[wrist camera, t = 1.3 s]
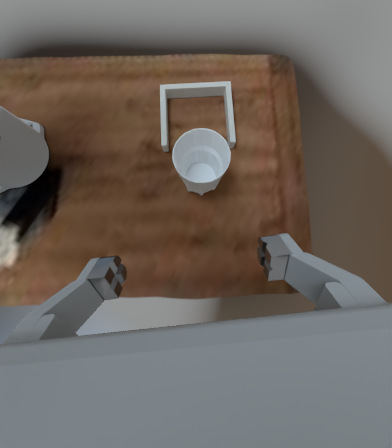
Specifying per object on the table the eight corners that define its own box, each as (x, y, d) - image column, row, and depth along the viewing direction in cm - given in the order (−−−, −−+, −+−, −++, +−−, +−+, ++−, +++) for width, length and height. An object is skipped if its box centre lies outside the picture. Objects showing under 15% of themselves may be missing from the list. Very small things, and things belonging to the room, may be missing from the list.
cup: (186, 152, 40) (183, 121, 30) (227, 165, 39) (237, 137, 30) (172, 191, 39) (164, 172, 29) (214, 205, 38) (220, 190, 28)
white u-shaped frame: (233, 148, 40) (235, 141, 38) (163, 151, 40) (161, 145, 37) (228, 91, 42) (230, 81, 40) (162, 94, 42) (159, 84, 40)
